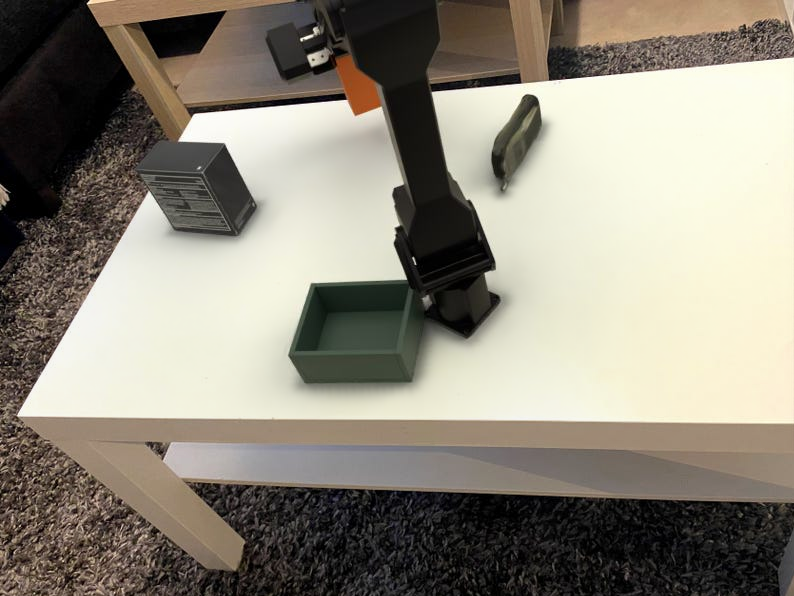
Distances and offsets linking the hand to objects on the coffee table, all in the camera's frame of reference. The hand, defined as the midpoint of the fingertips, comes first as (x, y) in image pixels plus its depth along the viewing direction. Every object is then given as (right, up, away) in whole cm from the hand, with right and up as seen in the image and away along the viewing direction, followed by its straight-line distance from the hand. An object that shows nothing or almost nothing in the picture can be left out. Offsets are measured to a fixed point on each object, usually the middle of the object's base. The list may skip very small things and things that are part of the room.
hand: (348, 56), depth 98 cm
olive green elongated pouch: (+23, -14, -1) cm, 27 cm away
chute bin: (+5, -39, -16) cm, 43 cm away
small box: (-18, -21, +2) cm, 28 cm away
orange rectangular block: (+2, -5, +4) cm, 7 cm away
